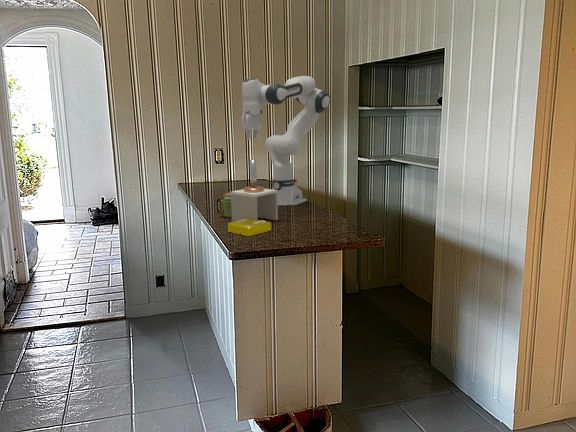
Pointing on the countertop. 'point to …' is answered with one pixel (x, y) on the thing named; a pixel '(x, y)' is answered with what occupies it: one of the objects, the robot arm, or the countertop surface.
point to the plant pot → (227, 207)
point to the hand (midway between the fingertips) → (252, 138)
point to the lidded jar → (227, 195)
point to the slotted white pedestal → (254, 205)
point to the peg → (253, 180)
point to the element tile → (249, 227)
